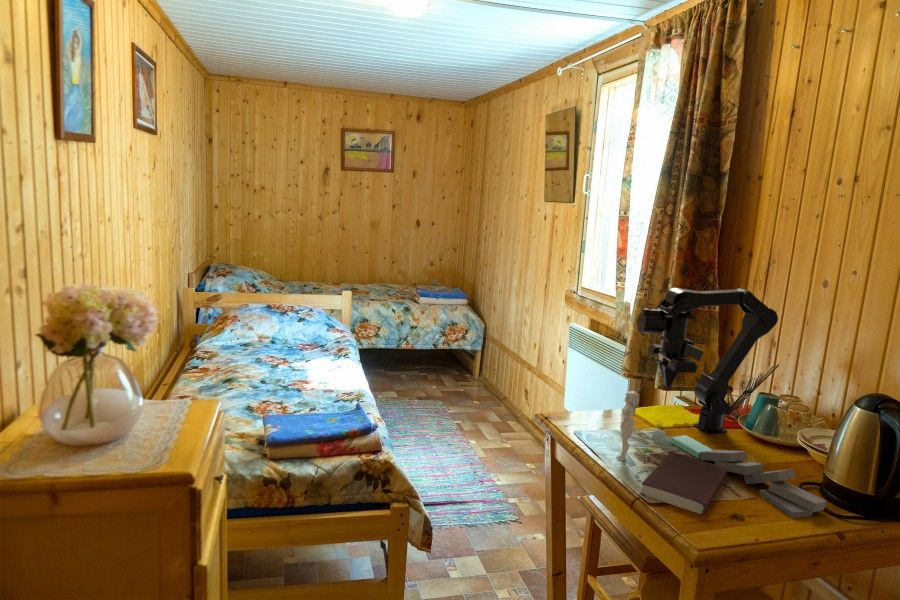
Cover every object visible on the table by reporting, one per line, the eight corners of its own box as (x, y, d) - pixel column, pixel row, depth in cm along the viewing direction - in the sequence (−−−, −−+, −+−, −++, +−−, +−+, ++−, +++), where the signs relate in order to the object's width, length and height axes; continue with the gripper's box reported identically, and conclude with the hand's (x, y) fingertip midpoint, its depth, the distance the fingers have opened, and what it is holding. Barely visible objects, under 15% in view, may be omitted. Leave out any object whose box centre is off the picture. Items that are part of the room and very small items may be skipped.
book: (726, 481, 150) (728, 467, 149) (703, 518, 132) (706, 502, 131) (667, 464, 158) (669, 450, 157) (638, 496, 140) (640, 481, 139)
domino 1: (715, 449, 162) (745, 451, 152) (716, 457, 161) (747, 459, 152) (700, 451, 160) (730, 453, 151) (701, 459, 159) (731, 461, 150)
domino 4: (778, 488, 144) (812, 510, 134) (777, 496, 144) (811, 519, 135) (760, 489, 142) (793, 512, 133) (759, 497, 143) (792, 521, 133)
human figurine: (612, 448, 163) (620, 383, 160) (627, 449, 163) (635, 384, 160) (620, 469, 152) (628, 399, 148) (636, 470, 151) (644, 400, 148)
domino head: (685, 435, 171) (713, 450, 162) (684, 442, 172) (712, 457, 163) (671, 437, 169) (699, 452, 160) (670, 444, 170) (697, 460, 161)
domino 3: (759, 472, 150) (793, 468, 141) (762, 481, 149) (796, 477, 141) (743, 475, 148) (777, 471, 139) (746, 484, 148) (780, 480, 139)
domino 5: (781, 479, 144) (826, 500, 136) (779, 487, 144) (824, 509, 136) (770, 482, 141) (816, 503, 133) (768, 490, 141) (813, 512, 133)
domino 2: (730, 458, 157) (762, 464, 147) (731, 466, 157) (763, 472, 147) (714, 460, 155) (746, 466, 146) (715, 469, 155) (746, 474, 146)
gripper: (719, 343, 165) (711, 399, 168) (686, 326, 184) (679, 377, 187) (679, 342, 164) (672, 398, 167) (650, 325, 182) (644, 376, 185)
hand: (667, 387), depth 177 cm, fingers closed
